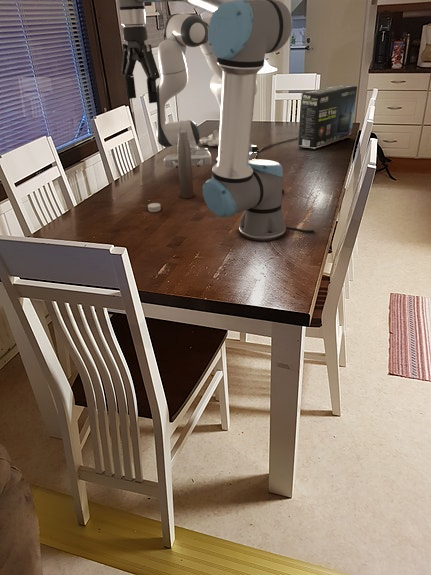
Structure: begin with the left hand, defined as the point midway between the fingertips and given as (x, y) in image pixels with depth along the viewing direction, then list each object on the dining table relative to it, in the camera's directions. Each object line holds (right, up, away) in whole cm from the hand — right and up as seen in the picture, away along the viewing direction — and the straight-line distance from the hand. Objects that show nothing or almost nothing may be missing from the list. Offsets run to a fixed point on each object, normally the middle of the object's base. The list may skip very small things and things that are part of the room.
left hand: (187, 165), depth 189 cm
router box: (+70, +27, +56) cm, 94 cm away
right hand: (-13, +11, -38) cm, 42 cm away
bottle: (0, -14, -7) cm, 16 cm away
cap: (-11, -20, -19) cm, 30 cm away
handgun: (+33, -9, -1) cm, 34 cm away
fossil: (+12, +28, +62) cm, 69 cm away
